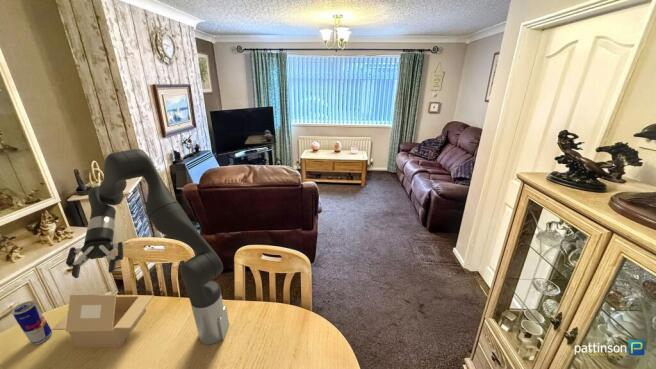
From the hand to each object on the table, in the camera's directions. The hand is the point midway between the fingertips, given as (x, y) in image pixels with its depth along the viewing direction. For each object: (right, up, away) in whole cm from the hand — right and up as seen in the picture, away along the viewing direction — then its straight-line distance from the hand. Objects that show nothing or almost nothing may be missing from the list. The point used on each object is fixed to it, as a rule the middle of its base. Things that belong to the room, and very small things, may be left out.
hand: (93, 274), depth 83 cm
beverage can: (-20, -23, +3) cm, 31 cm away
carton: (0, -22, +7) cm, 23 cm away
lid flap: (+1, -12, -2) cm, 12 cm away
